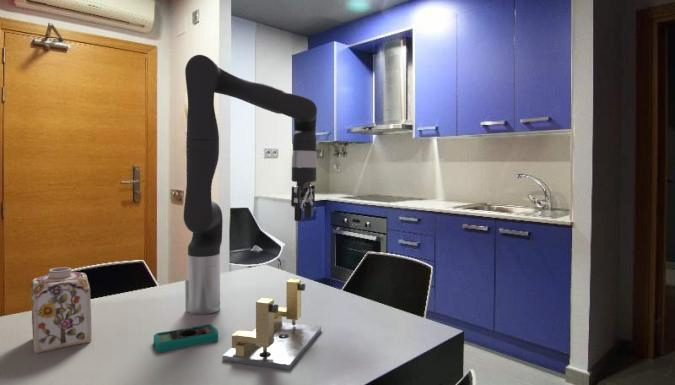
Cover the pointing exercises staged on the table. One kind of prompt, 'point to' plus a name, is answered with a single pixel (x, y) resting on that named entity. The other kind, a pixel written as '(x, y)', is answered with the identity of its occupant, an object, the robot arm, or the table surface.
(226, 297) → the table surface
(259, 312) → the tan block assembly
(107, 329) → the table surface
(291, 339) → the flange plate
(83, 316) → the decorative jar
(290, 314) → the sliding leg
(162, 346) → the digital multimeter
